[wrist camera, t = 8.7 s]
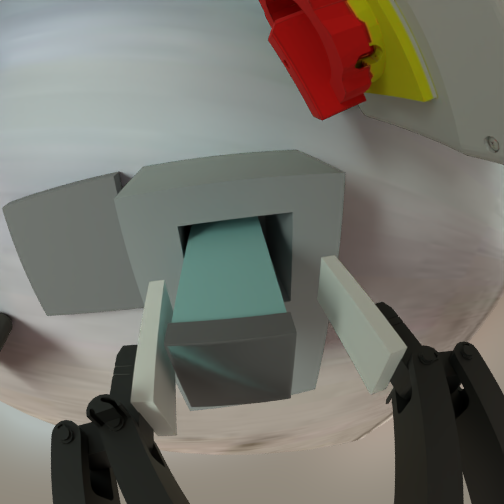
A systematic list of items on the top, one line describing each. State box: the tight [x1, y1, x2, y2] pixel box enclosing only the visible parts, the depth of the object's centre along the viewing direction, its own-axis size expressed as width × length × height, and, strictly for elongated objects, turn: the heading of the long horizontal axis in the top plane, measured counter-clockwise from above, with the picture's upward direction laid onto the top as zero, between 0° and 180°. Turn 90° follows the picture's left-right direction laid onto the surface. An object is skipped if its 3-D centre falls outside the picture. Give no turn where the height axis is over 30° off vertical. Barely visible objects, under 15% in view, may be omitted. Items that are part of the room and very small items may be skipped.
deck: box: [2, 172, 145, 316], centre depth 20 cm, size 12×12×2 cm
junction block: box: [114, 150, 345, 411], centre depth 21 cm, size 20×12×8 cm, turn 3°
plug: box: [164, 216, 297, 407], centre depth 15 cm, size 4×4×14 cm
